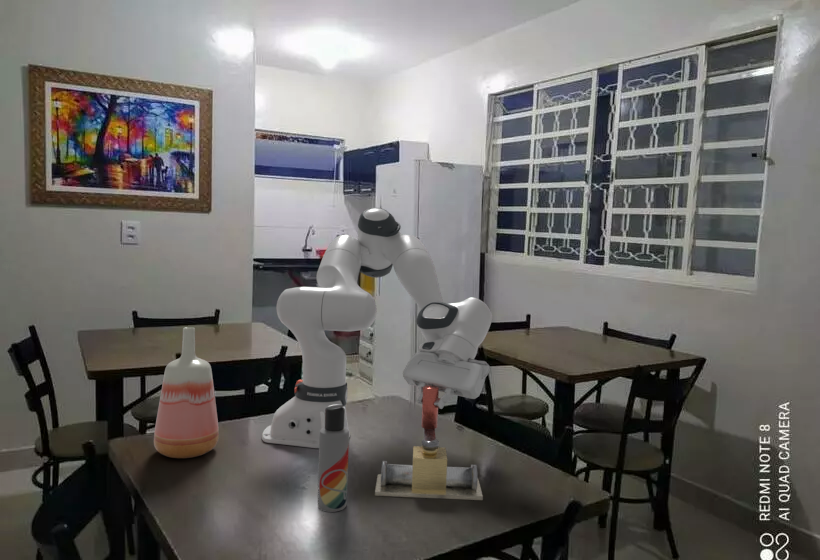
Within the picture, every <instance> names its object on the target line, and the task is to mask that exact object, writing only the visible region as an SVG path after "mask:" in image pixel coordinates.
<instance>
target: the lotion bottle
mask: <svg viewBox="0 0 820 560" xmlns="http://www.w3.org/2000/svg"><path fill="white" fill-rule="evenodd" d="M344 422H345V408H344V407H343V405H331V406H328V407H327V408H325V427H324V428H322V429H321V430H320V436H319V448H318V467H317V468H318V472H317V473H318V476H317V507H318V509H320V510H321V511H323V512H329V513H334V512H336V513H337V512H340V511H344V509H345V508H346V507H347V505H348V503H347V502H348V481H349V479H348V477H349V474H348V473H349V446H350V445H349V444H350V437H349V432H350V429H349V430H348V429H347V428H345V427H344Z"/></svg>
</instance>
